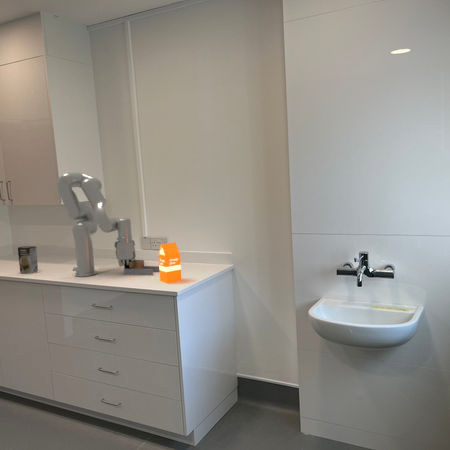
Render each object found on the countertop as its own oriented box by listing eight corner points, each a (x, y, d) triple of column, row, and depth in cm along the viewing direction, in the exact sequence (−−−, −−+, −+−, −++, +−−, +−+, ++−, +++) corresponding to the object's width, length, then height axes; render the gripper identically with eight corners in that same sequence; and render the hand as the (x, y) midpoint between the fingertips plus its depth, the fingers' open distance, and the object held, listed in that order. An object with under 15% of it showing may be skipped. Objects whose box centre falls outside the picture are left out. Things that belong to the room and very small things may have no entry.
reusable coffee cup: (139, 262, 303) (137, 239, 302) (131, 266, 291) (130, 242, 289) (120, 263, 306) (119, 240, 304) (112, 267, 293) (111, 243, 292)
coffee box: (19, 273, 289) (17, 247, 287) (27, 271, 295) (24, 245, 293) (31, 273, 285) (28, 247, 284) (38, 271, 291) (36, 245, 290)
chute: (124, 275, 265) (123, 269, 265) (132, 272, 274) (132, 265, 273) (152, 276, 259) (151, 269, 258) (160, 273, 267) (159, 266, 267)
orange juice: (181, 280, 246) (179, 243, 244) (167, 283, 241) (164, 245, 239) (174, 278, 253) (172, 241, 250) (160, 281, 248) (157, 243, 245)
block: (130, 274, 265) (129, 261, 265) (135, 271, 271) (134, 259, 270) (139, 274, 263) (138, 262, 263) (144, 272, 269) (143, 260, 268)
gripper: (110, 240, 266) (112, 272, 268) (133, 240, 261) (135, 272, 263) (117, 238, 273) (120, 269, 275) (140, 238, 268) (142, 270, 270)
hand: (127, 271), depth 269 cm, fingers closed
